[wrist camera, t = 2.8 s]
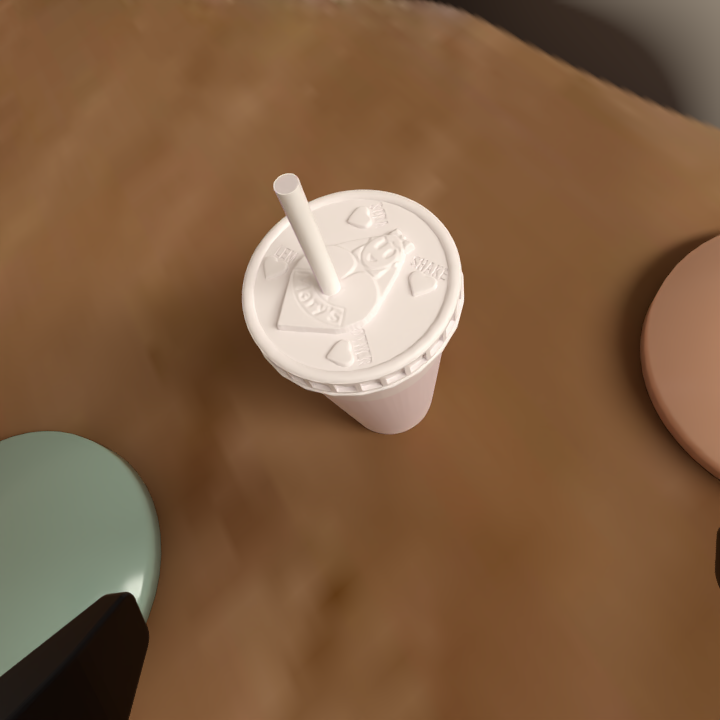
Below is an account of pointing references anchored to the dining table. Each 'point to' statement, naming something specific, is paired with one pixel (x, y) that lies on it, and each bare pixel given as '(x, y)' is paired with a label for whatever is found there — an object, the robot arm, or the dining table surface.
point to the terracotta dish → (687, 354)
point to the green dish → (69, 536)
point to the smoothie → (356, 300)
